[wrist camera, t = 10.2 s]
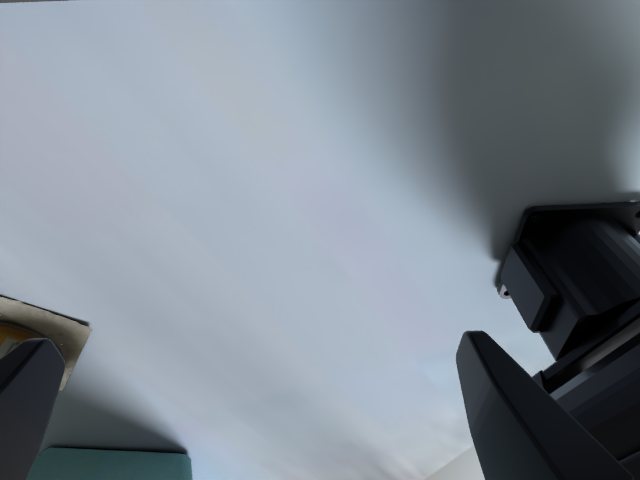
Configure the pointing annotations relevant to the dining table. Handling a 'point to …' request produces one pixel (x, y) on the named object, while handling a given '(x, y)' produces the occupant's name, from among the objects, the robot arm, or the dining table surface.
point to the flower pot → (109, 465)
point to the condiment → (41, 331)
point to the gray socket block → (10, 0)
